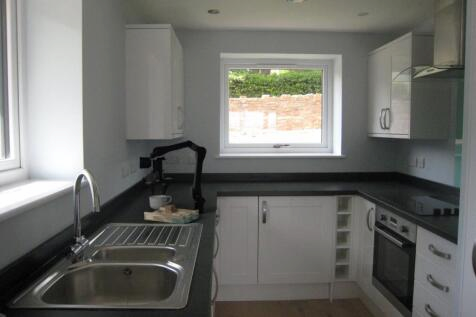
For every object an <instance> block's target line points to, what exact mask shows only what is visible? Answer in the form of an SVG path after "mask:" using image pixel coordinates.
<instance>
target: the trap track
mask: <svg viewBox="0 0 476 317" xmlns="http://www.w3.org/2000/svg"><path fill="white" fill-rule="evenodd" d="M143 214H144V215H143V216H144V218H143V219H144V220H146V221H156V222H164V223H171V224H172V223H174V224H178V225H179V224H180V225H186V224H188V223H191V222H192V221H196V220H197V219H199V218H200V214H199V210H194V209H185V208H175V212H174V213H172V214H170V213H165V207H159V209H157V210H154V211H152V212H149V211H144V212H143ZM185 223H186V224H185Z"/></svg>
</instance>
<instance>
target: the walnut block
mask: <svg viewBox="0 0 476 317" xmlns="http://www.w3.org/2000/svg"><path fill="white" fill-rule="evenodd" d="M175 209H176V205H175V204H167V205H166V206H165V213H170V214H172V213H174V212H175Z"/></svg>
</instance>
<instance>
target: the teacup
mask: <svg viewBox="0 0 476 317" xmlns="http://www.w3.org/2000/svg"><path fill="white" fill-rule="evenodd" d="M168 198H169V200H168ZM171 202H172V196H171V195H166V194H165V195H164V196H163V194H161V195H152V196H149V206H150V208H151V209H152V210H159V207H165V206H167V205H169V204H170V203H171Z"/></svg>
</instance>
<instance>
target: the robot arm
mask: <svg viewBox="0 0 476 317" xmlns="http://www.w3.org/2000/svg"><path fill="white" fill-rule="evenodd" d="M187 148H189V149H190V150H191V151H193V152H194V157H195V167H194V175H193V176H194V178H193V184H192V186H190V187H189V192H188V194H189V197H190V198H191V199H192V200H193V201H194V202H193V203H194V209H193V210H199V215H201V214H204V213H206V212H207V210H205V203H206V201H207V200H206V199H205V197H204V196H203V194H202V193H203V192H202V176H203V164H204V160H205V158H206V156H207V148H206V147H205V146H200V145H198V144H196V143H195V142H193V141H192V140H187V139H186V140H184V141H180V142H176V143H172V144H168V145H157V146H156V145H155V146H154V147H152V148H151V153H150V154H149V156H139V158H138V159H139V160H138V169H139V170H141V169H142V170H144V169H150V168H152V169H151V171H150V173H149V174H148V175H146V176H145V177H144V176H143V177H142V179H141V182H142V183H145V185H147V186H148V187H149V189H150V192H151V195H152V196H155V189H156V182H157V183H161V184H160V185H161V187H162V189H161V190H162V194H161V195H163V196H164V195H165V196H166V192H167V190H168V188H169V187H170V185H171V184H175V179H174V178H173V177H166V178H165V176H164V172H165V169H164V167H163V164H164V163H163V161H166V160H167V158H166V157H165V156H164V155H166V154H168V153H170V152H174V151H178V150H181V149H187Z"/></svg>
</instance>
